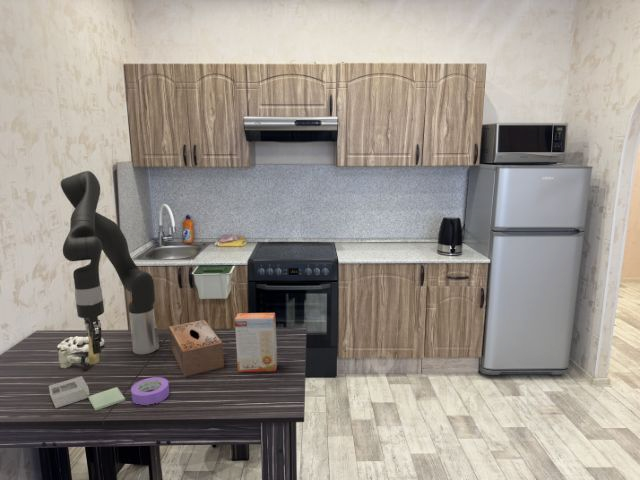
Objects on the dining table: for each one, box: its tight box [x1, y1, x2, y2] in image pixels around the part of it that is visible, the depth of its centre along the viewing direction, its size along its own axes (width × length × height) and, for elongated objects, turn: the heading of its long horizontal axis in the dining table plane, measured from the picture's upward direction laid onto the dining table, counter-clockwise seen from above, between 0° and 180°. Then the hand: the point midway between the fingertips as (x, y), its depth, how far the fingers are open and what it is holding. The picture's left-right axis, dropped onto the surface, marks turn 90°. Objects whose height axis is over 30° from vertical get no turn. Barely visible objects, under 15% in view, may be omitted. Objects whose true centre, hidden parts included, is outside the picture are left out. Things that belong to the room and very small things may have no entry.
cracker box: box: [234, 312, 278, 373], centre depth 165 cm, size 14×6×21 cm, turn 89°
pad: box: [87, 386, 126, 411], centre depth 148 cm, size 9×9×1 cm
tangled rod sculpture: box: [57, 335, 105, 355], centre depth 186 cm, size 19×14×4 cm
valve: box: [58, 348, 91, 370], centre depth 170 cm, size 7×7×12 cm
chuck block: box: [48, 375, 91, 409], centre depth 150 cm, size 10×10×4 cm
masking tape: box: [130, 376, 170, 406], centre depth 150 cm, size 12×12×4 cm
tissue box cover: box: [168, 319, 225, 377], centre depth 176 cm, size 26×14×10 cm, turn 29°
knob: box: [87, 322, 102, 365], centre depth 144 cm, size 4×4×12 cm
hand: (95, 351), depth 145 cm, fingers closed on knob, 3 cm apart
